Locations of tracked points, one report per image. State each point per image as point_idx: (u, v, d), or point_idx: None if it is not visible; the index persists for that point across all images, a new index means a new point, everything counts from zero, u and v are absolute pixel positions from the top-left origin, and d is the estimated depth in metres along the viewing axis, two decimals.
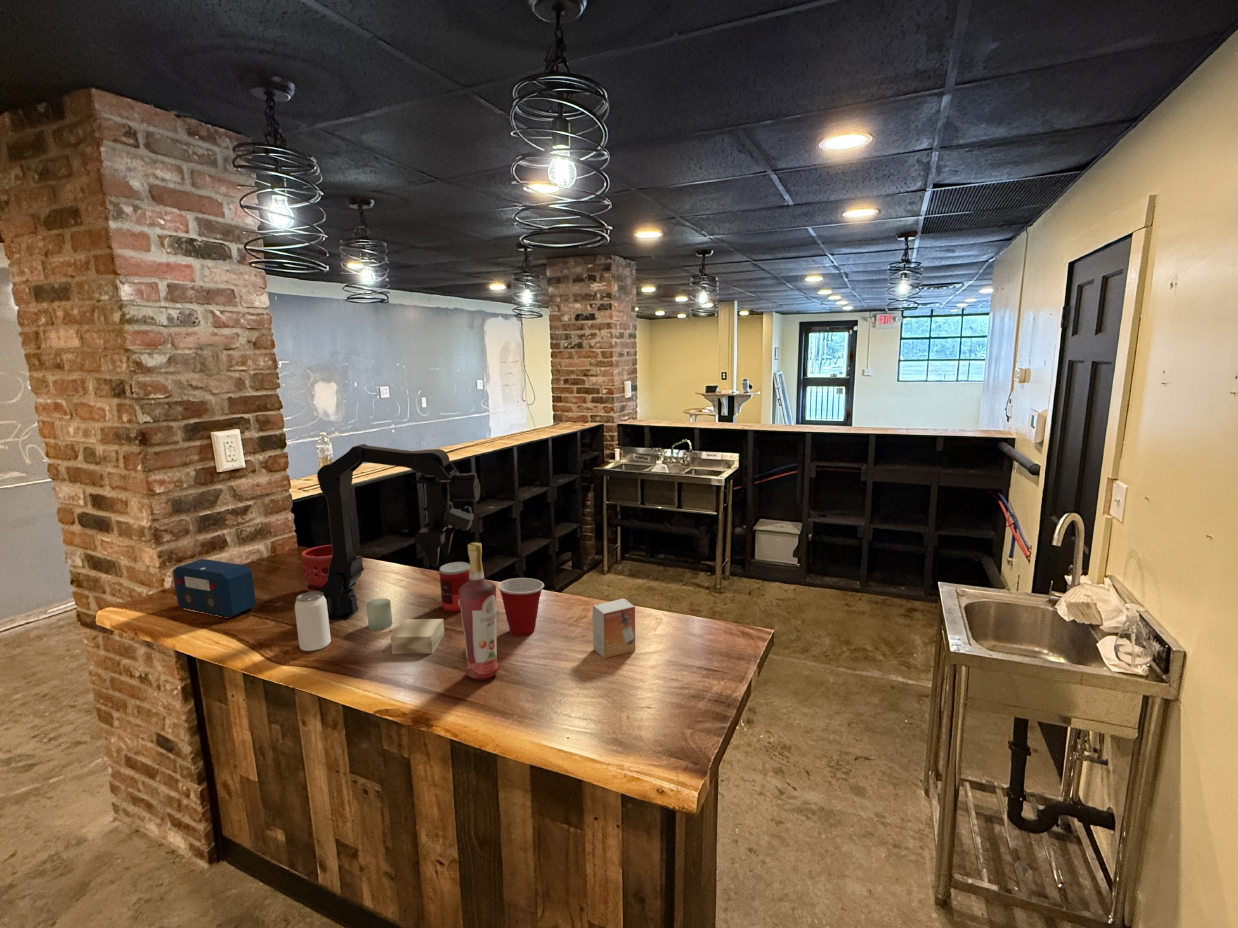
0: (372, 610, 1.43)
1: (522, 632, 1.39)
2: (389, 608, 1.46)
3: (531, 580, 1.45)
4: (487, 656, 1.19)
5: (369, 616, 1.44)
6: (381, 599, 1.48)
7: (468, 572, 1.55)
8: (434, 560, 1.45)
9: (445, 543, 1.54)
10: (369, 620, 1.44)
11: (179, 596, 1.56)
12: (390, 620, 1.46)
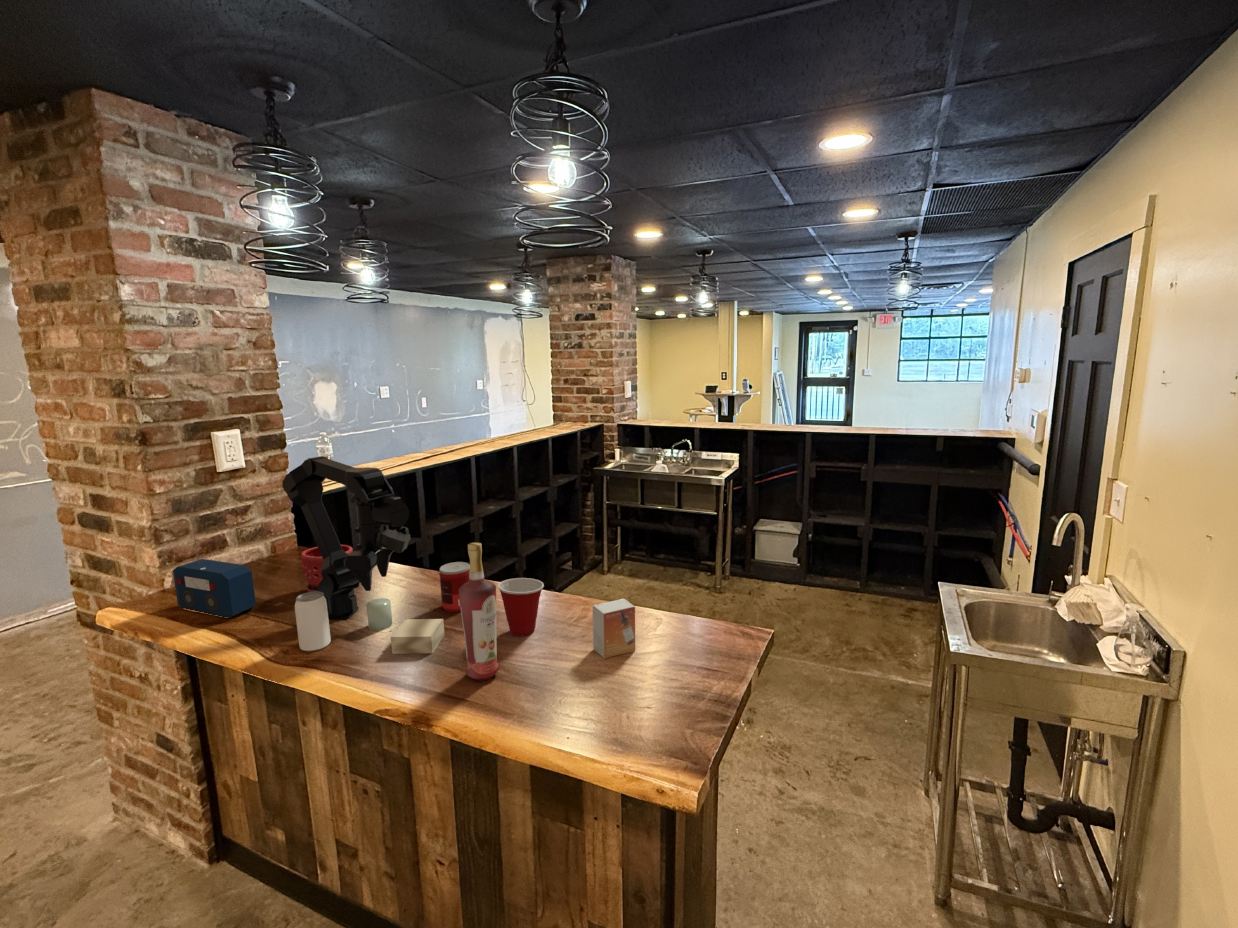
0: (372, 610, 1.43)
1: (522, 632, 1.39)
2: (389, 608, 1.46)
3: (531, 580, 1.45)
4: (487, 656, 1.19)
5: (369, 616, 1.44)
6: (381, 599, 1.48)
7: (468, 572, 1.55)
8: (366, 583, 1.39)
9: (382, 565, 1.49)
10: (369, 620, 1.44)
11: (179, 596, 1.56)
12: (390, 620, 1.46)
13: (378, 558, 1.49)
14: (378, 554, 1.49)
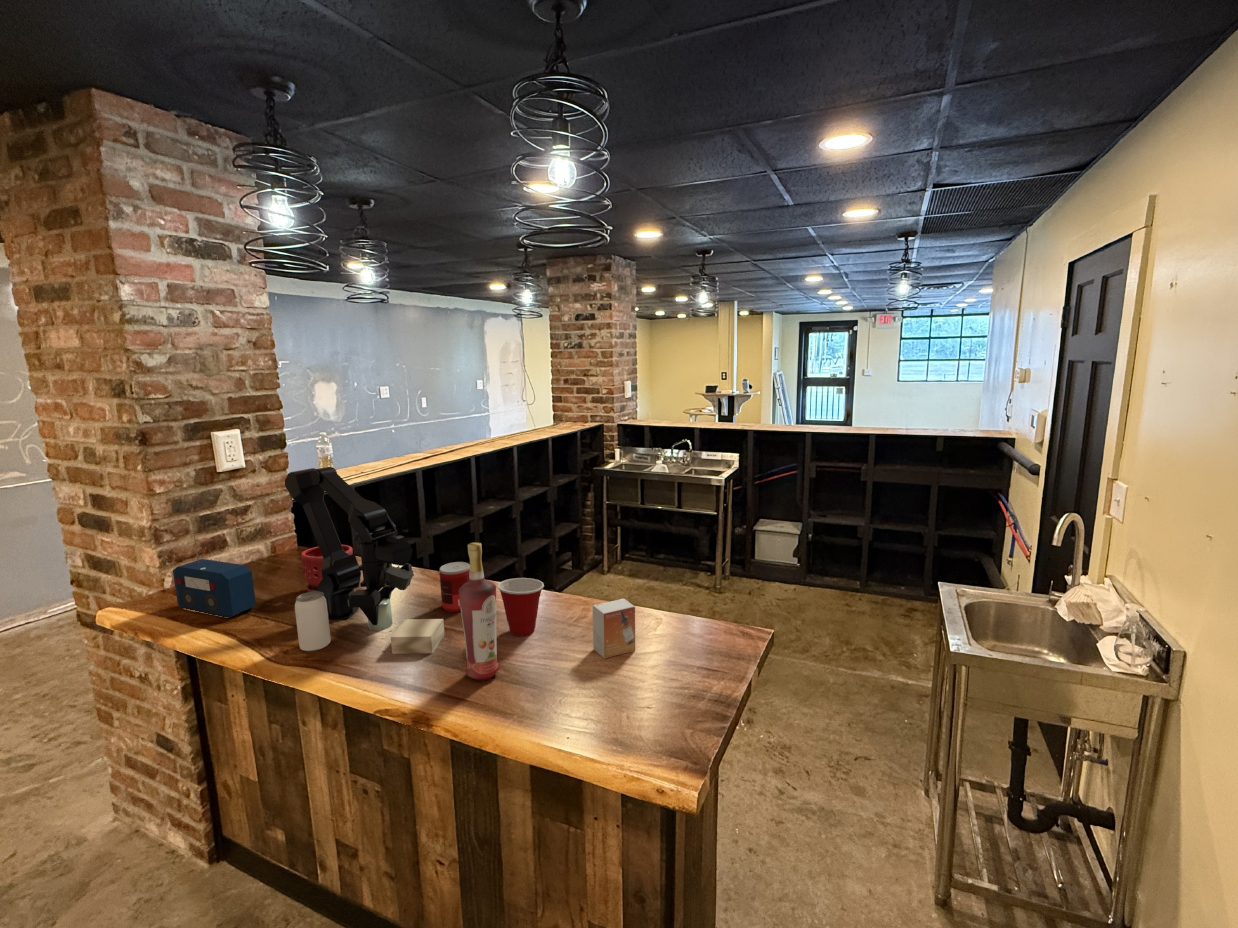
0: None
1: (522, 632, 1.39)
2: (389, 608, 1.46)
3: (531, 580, 1.45)
4: (487, 656, 1.19)
5: None
6: None
7: (468, 572, 1.55)
8: (373, 618, 1.43)
9: None
10: None
11: (179, 596, 1.56)
12: (390, 620, 1.46)
13: None
14: None
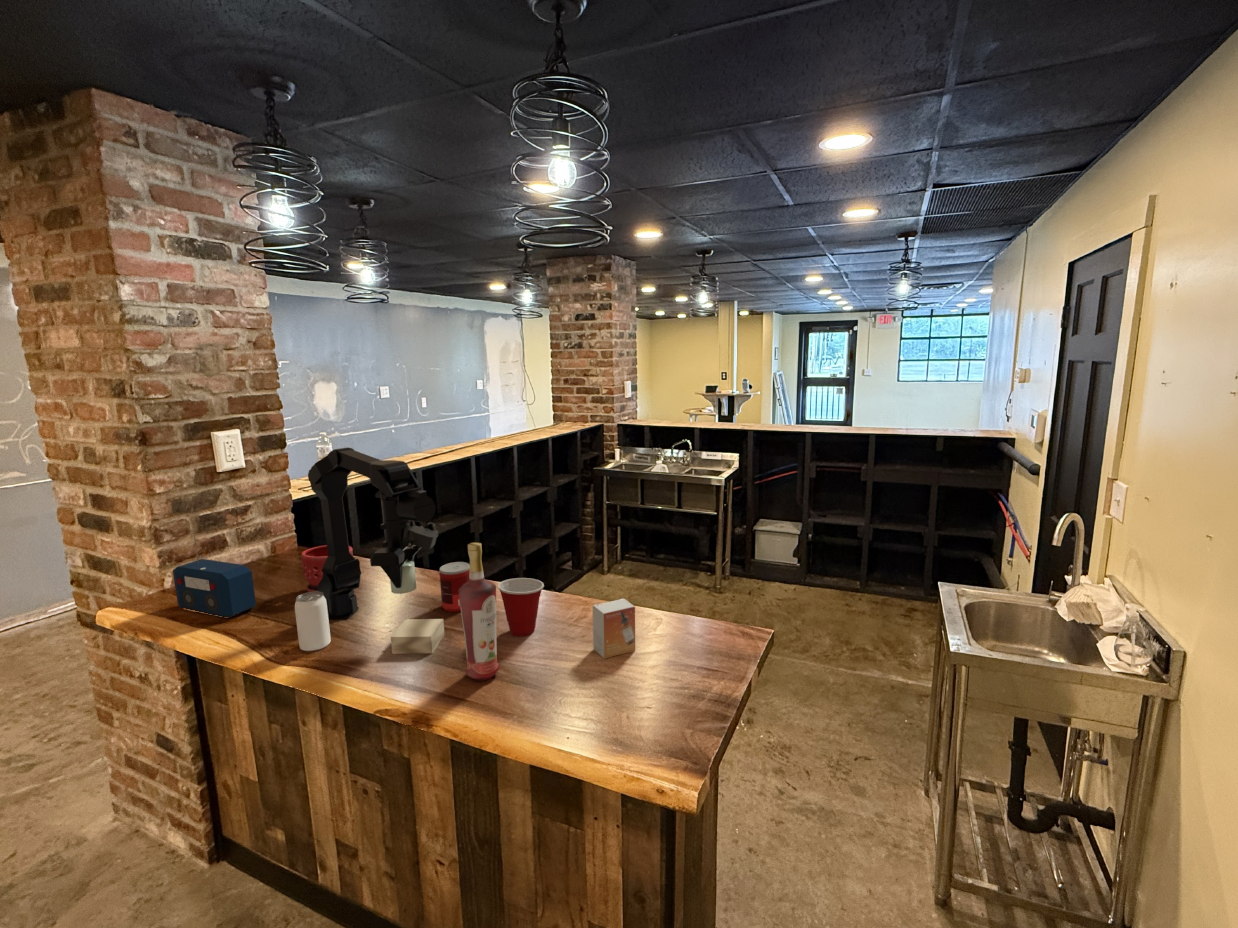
0: None
1: (522, 632, 1.39)
2: (413, 570, 1.36)
3: (531, 580, 1.45)
4: (487, 656, 1.19)
5: None
6: None
7: (468, 572, 1.55)
8: (396, 580, 1.33)
9: None
10: (392, 583, 1.35)
11: (179, 596, 1.56)
12: (414, 583, 1.37)
13: None
14: None
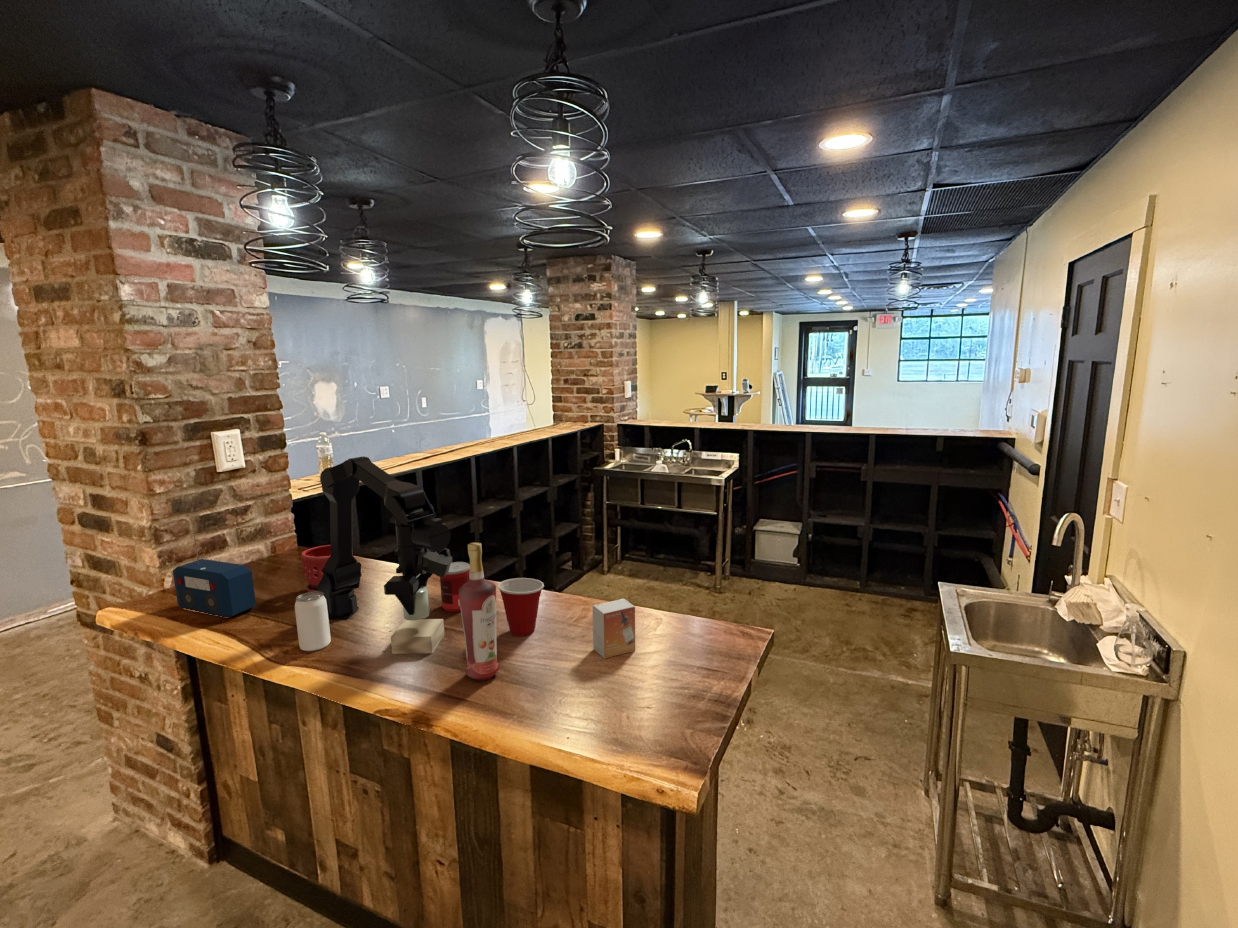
0: None
1: (522, 632, 1.39)
2: (426, 596, 1.34)
3: (531, 580, 1.45)
4: (487, 656, 1.19)
5: None
6: None
7: (468, 572, 1.55)
8: (409, 607, 1.31)
9: None
10: (404, 609, 1.33)
11: (179, 596, 1.56)
12: (427, 609, 1.35)
13: None
14: None
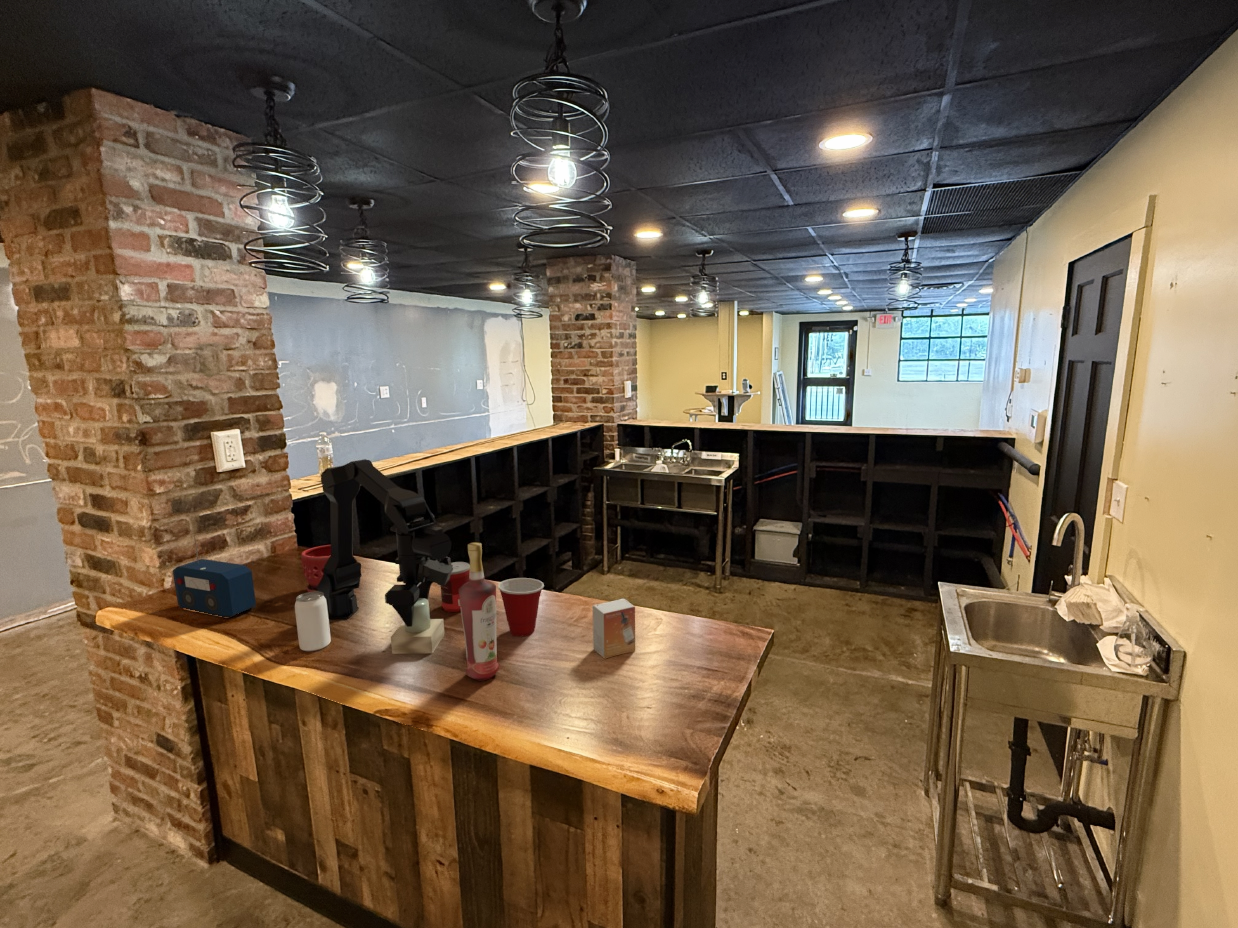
0: None
1: (522, 632, 1.39)
2: (427, 609, 1.35)
3: (531, 580, 1.45)
4: (487, 656, 1.19)
5: None
6: None
7: (468, 572, 1.55)
8: (407, 619, 1.30)
9: (422, 596, 1.40)
10: None
11: (179, 596, 1.56)
12: (428, 621, 1.35)
13: None
14: (418, 585, 1.39)
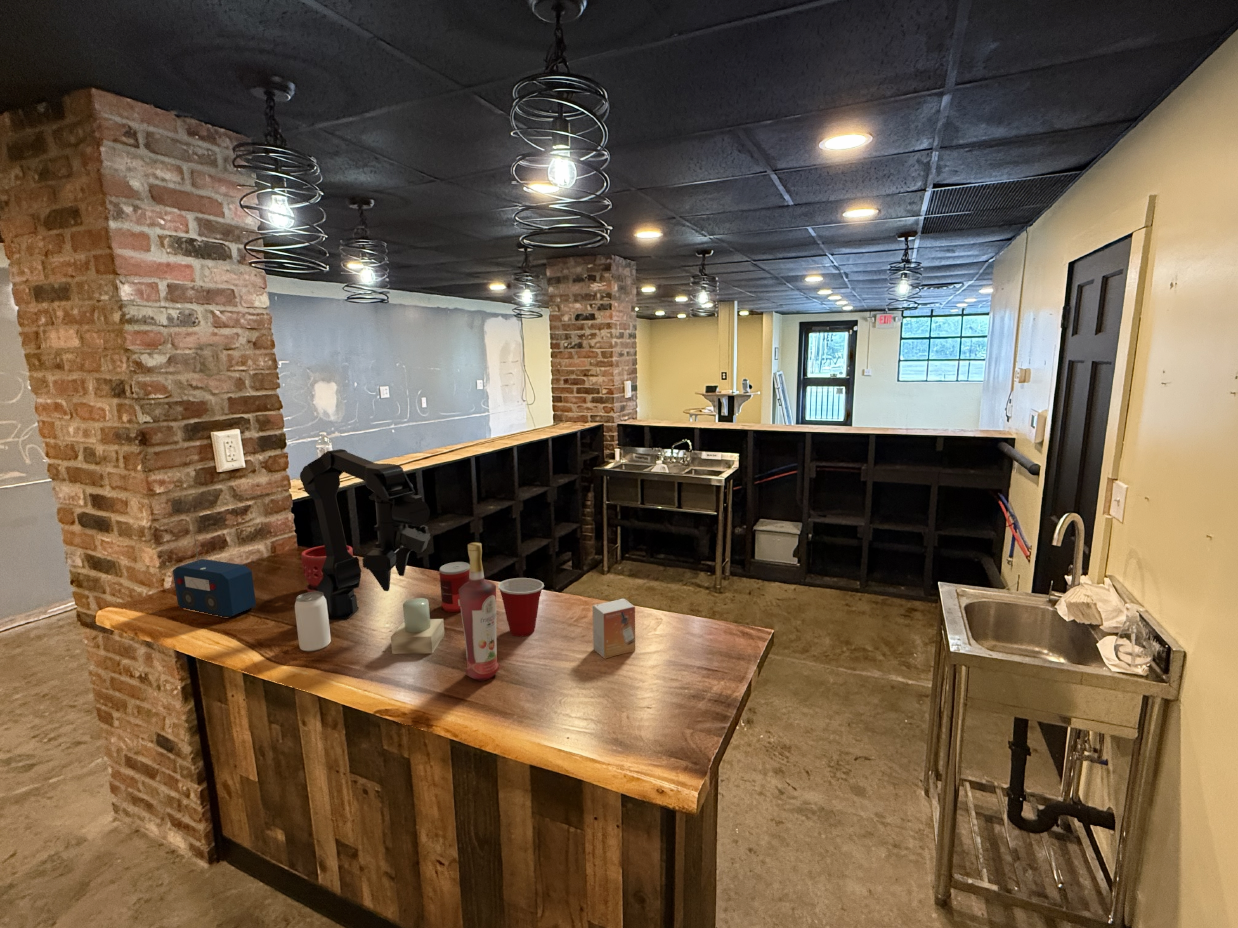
0: (409, 610, 1.32)
1: (522, 632, 1.39)
2: (427, 609, 1.35)
3: (531, 580, 1.45)
4: (487, 656, 1.19)
5: (406, 617, 1.33)
6: (418, 599, 1.37)
7: (468, 572, 1.55)
8: (384, 583, 1.35)
9: (400, 564, 1.45)
10: (406, 622, 1.33)
11: (179, 596, 1.56)
12: (428, 621, 1.35)
13: (396, 557, 1.45)
14: (396, 553, 1.45)
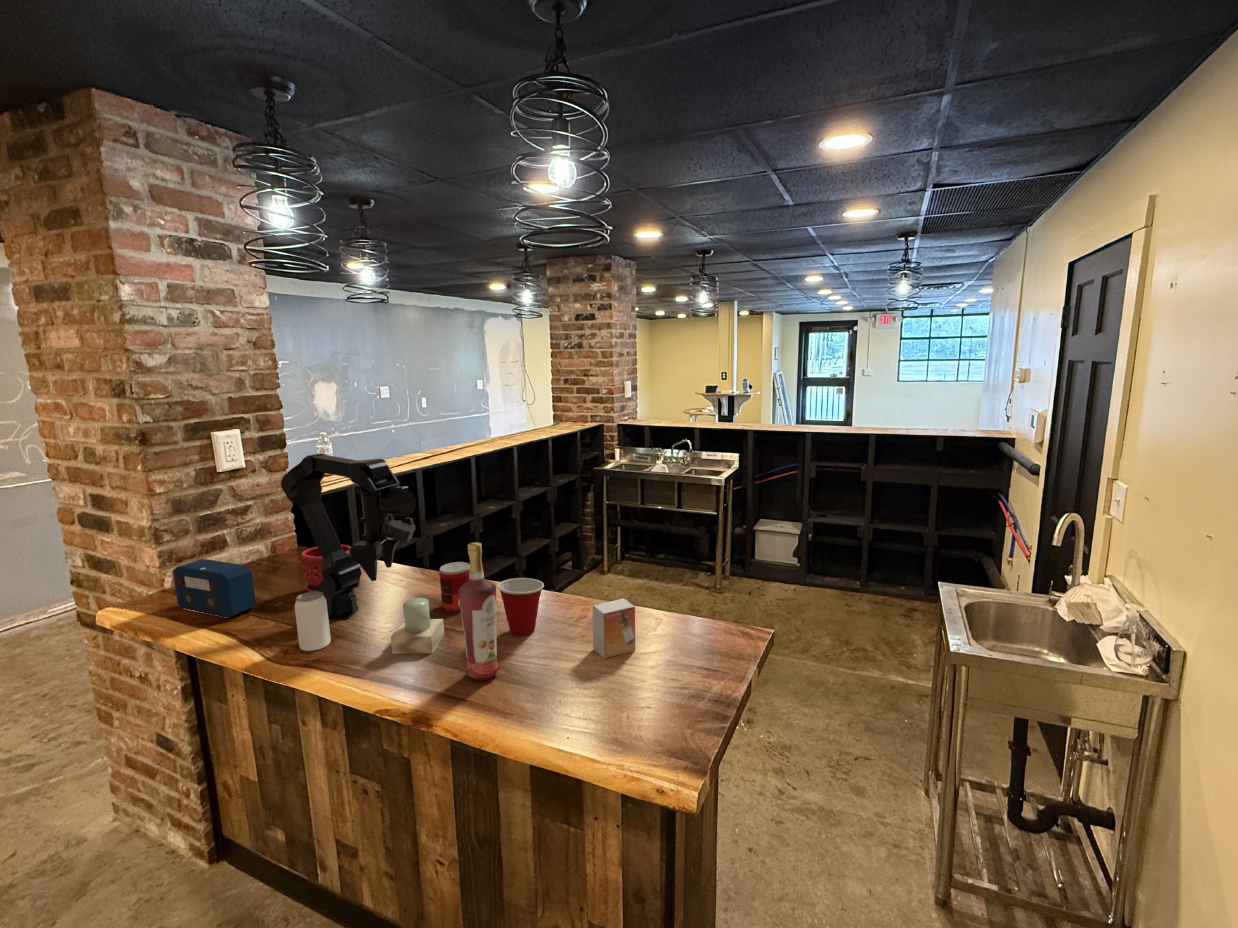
0: (409, 610, 1.32)
1: (522, 632, 1.39)
2: (427, 609, 1.35)
3: (531, 580, 1.45)
4: (487, 656, 1.19)
5: (406, 617, 1.33)
6: (418, 599, 1.37)
7: (468, 572, 1.55)
8: (371, 573, 1.40)
9: (387, 555, 1.49)
10: (406, 622, 1.33)
11: (179, 596, 1.56)
12: (428, 621, 1.35)
13: (383, 549, 1.49)
14: (383, 545, 1.49)
